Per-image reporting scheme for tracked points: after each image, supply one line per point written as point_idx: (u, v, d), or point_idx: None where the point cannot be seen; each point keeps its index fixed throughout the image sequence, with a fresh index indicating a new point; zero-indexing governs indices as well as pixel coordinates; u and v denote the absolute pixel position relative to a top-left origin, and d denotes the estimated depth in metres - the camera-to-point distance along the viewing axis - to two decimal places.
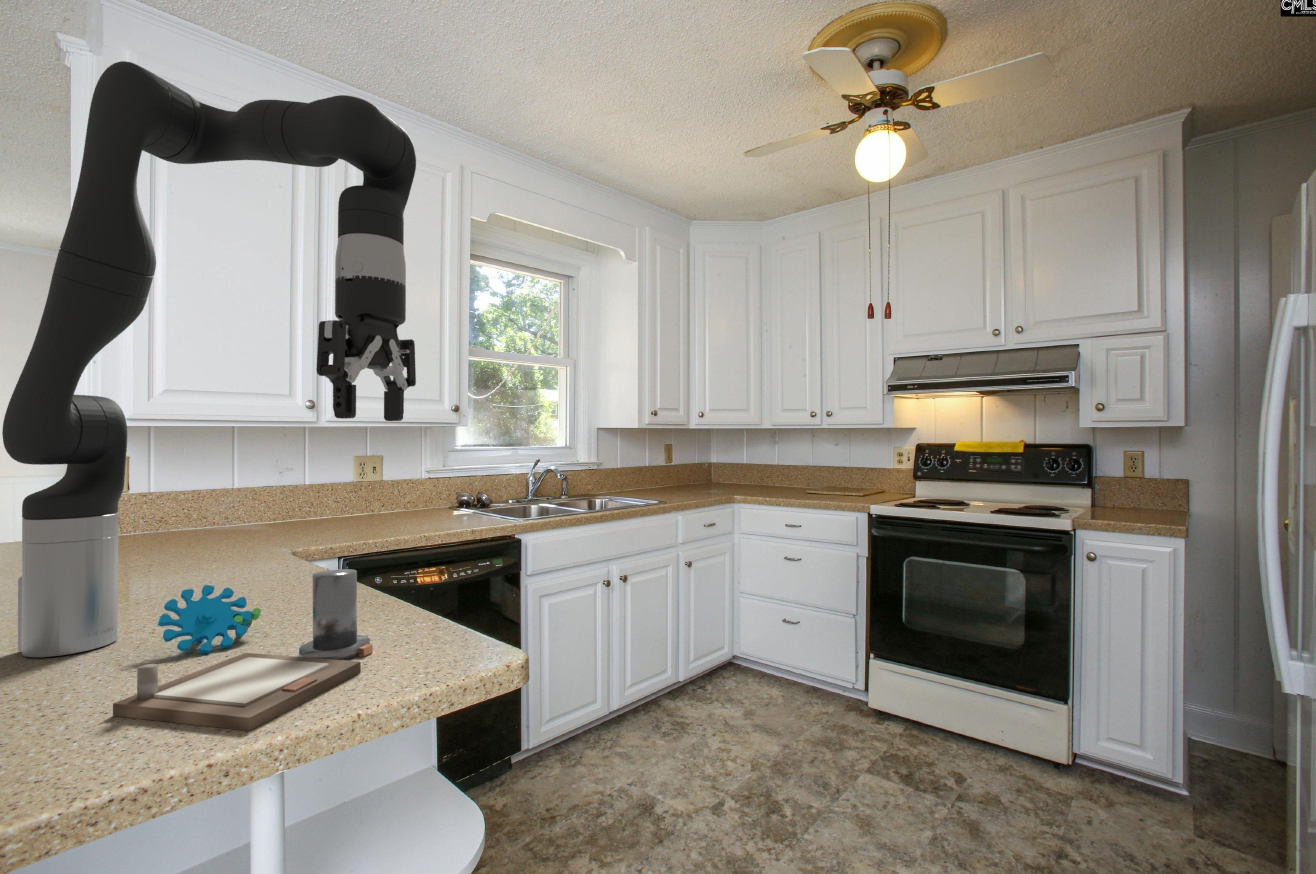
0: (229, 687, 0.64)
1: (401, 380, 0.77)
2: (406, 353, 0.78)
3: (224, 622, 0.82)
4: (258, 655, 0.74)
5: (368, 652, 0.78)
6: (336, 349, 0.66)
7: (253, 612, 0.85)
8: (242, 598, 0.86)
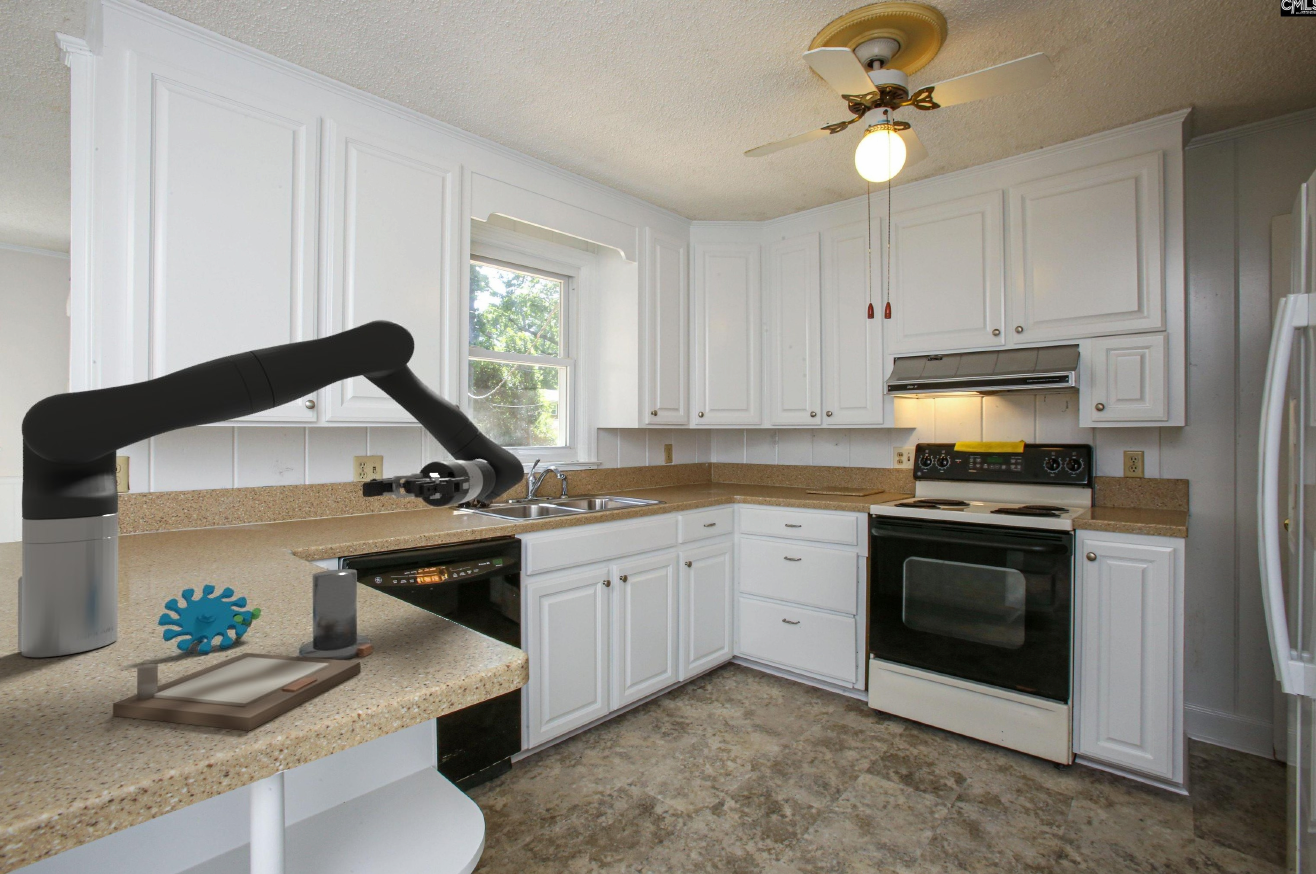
0: (229, 687, 0.64)
1: None
2: None
3: (224, 622, 0.82)
4: (258, 655, 0.74)
5: (368, 652, 0.78)
6: (460, 493, 0.95)
7: (253, 612, 0.85)
8: (242, 598, 0.86)
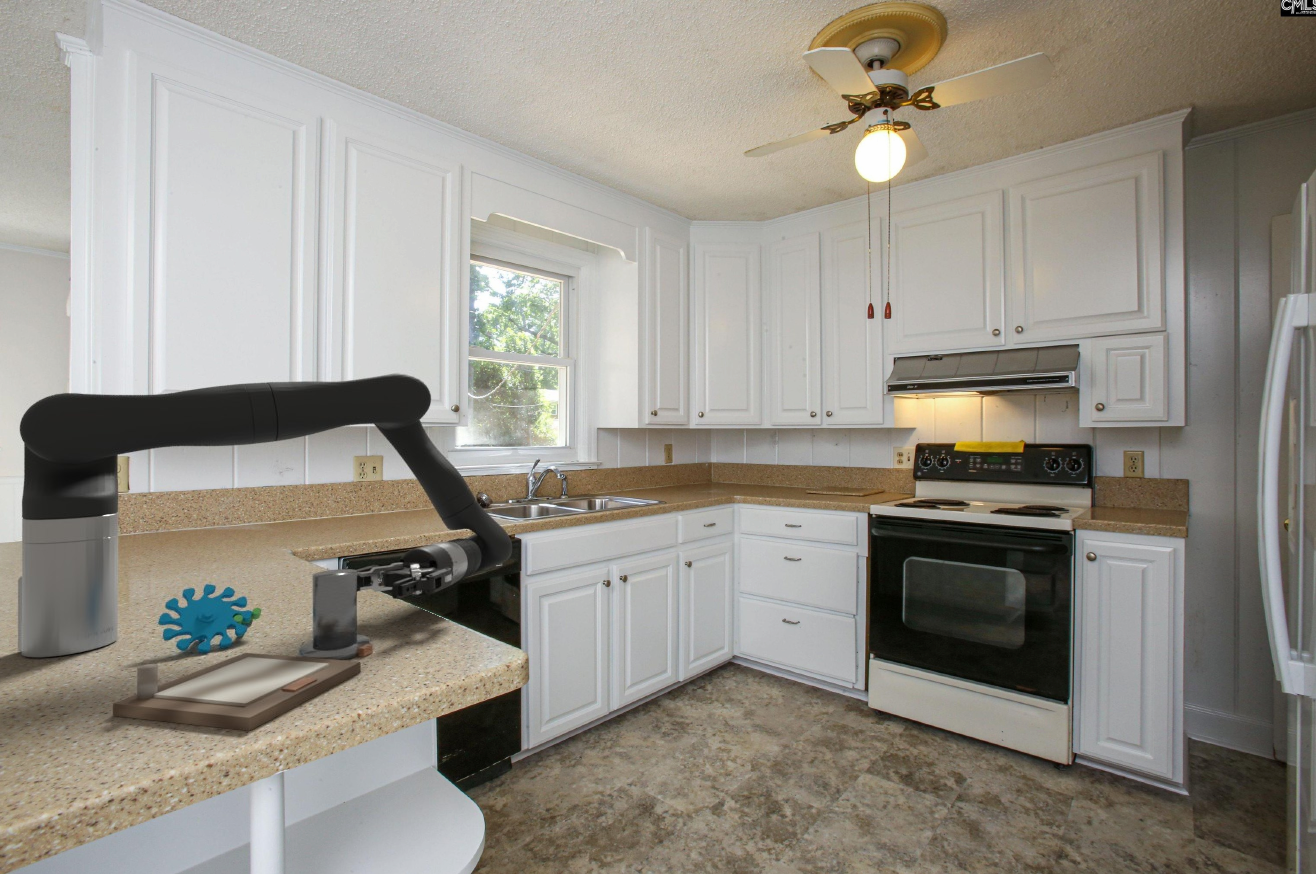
0: (229, 687, 0.64)
1: None
2: None
3: (224, 621, 0.82)
4: (258, 655, 0.74)
5: (368, 652, 0.78)
6: (441, 588, 0.91)
7: (253, 612, 0.85)
8: (243, 597, 0.86)
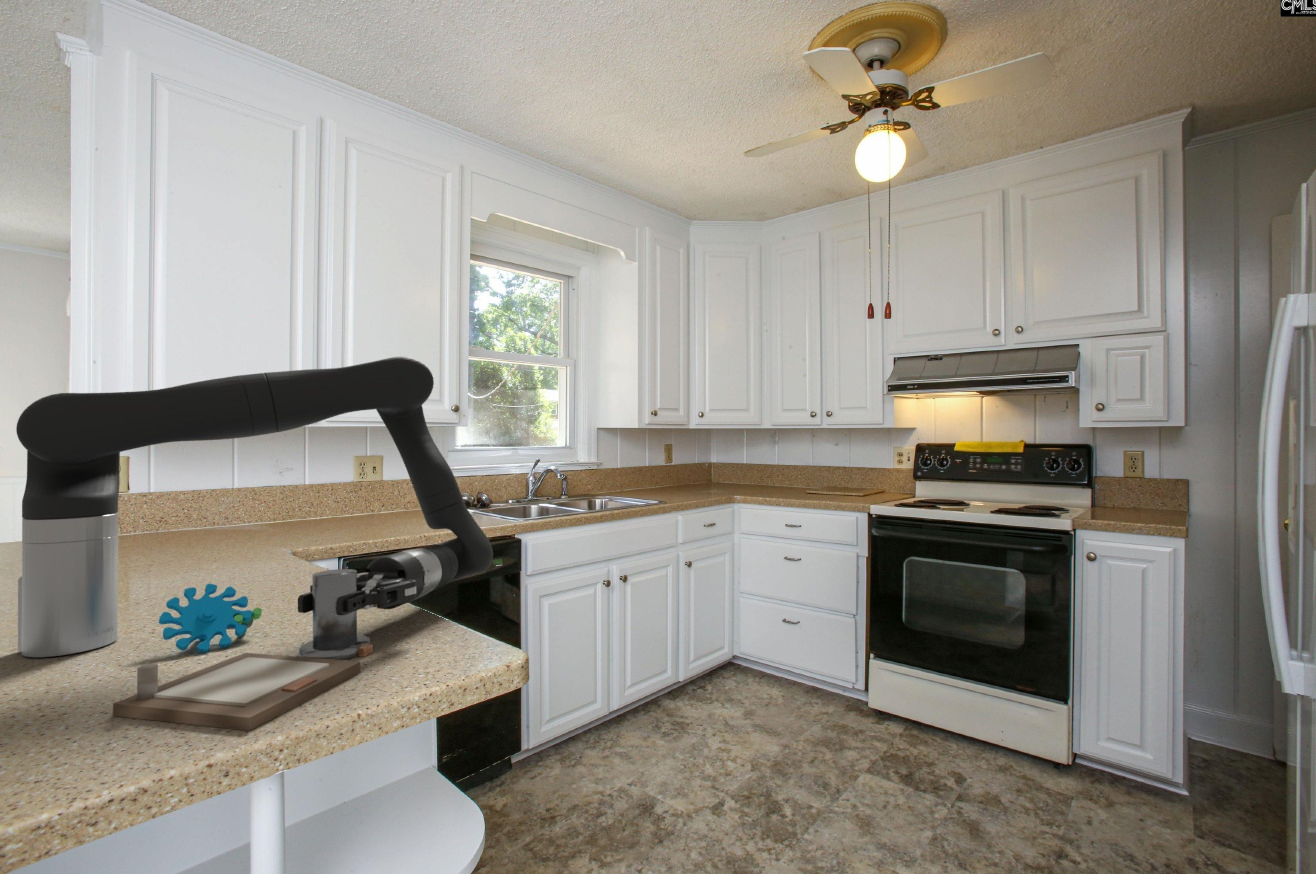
0: (229, 687, 0.64)
1: None
2: None
3: (224, 621, 0.82)
4: (258, 655, 0.74)
5: (368, 652, 0.78)
6: (398, 603, 0.82)
7: (254, 612, 0.85)
8: (244, 597, 0.86)
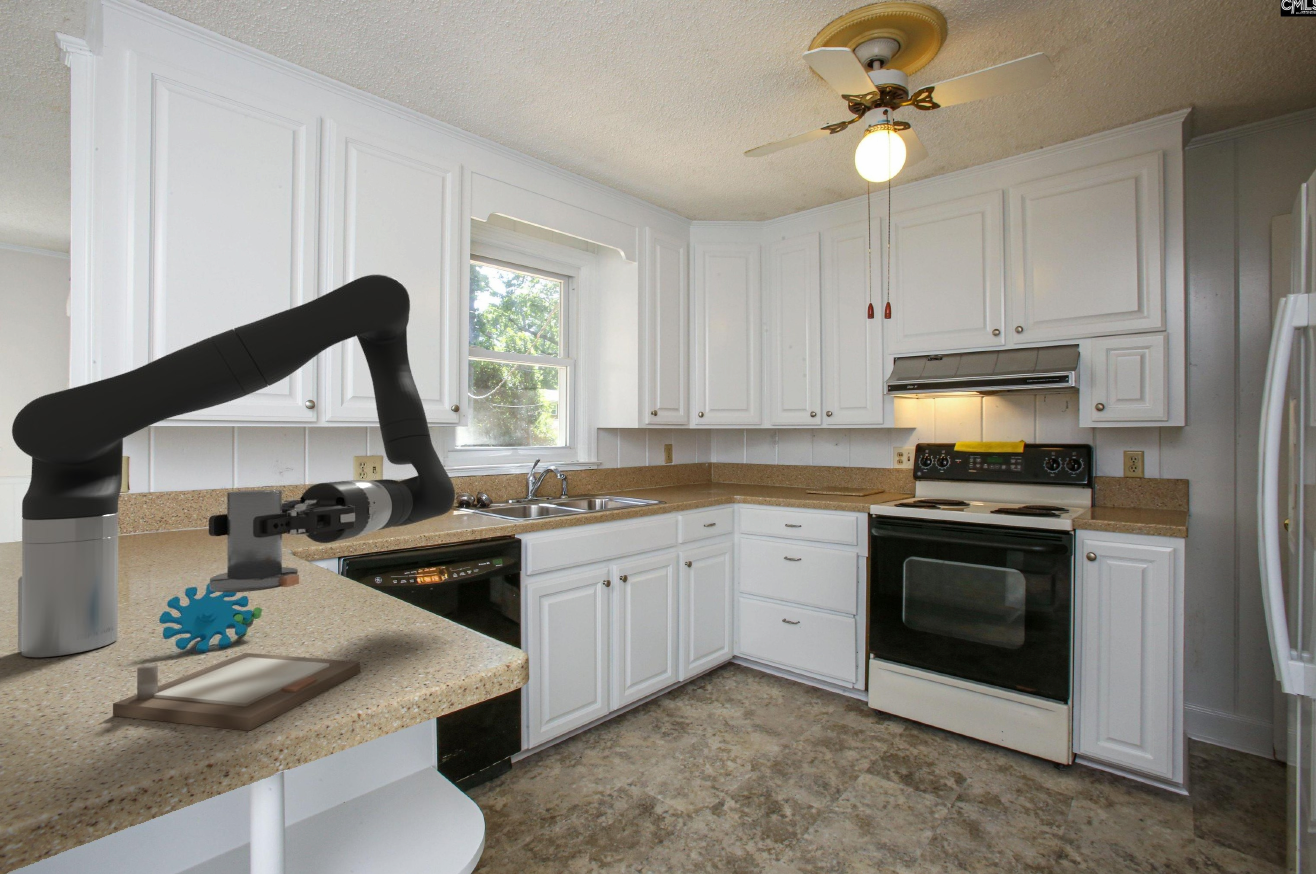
0: (229, 687, 0.64)
1: None
2: None
3: (224, 621, 0.83)
4: (258, 655, 0.74)
5: (293, 583, 0.67)
6: (331, 529, 0.70)
7: (254, 611, 0.85)
8: (244, 597, 0.86)
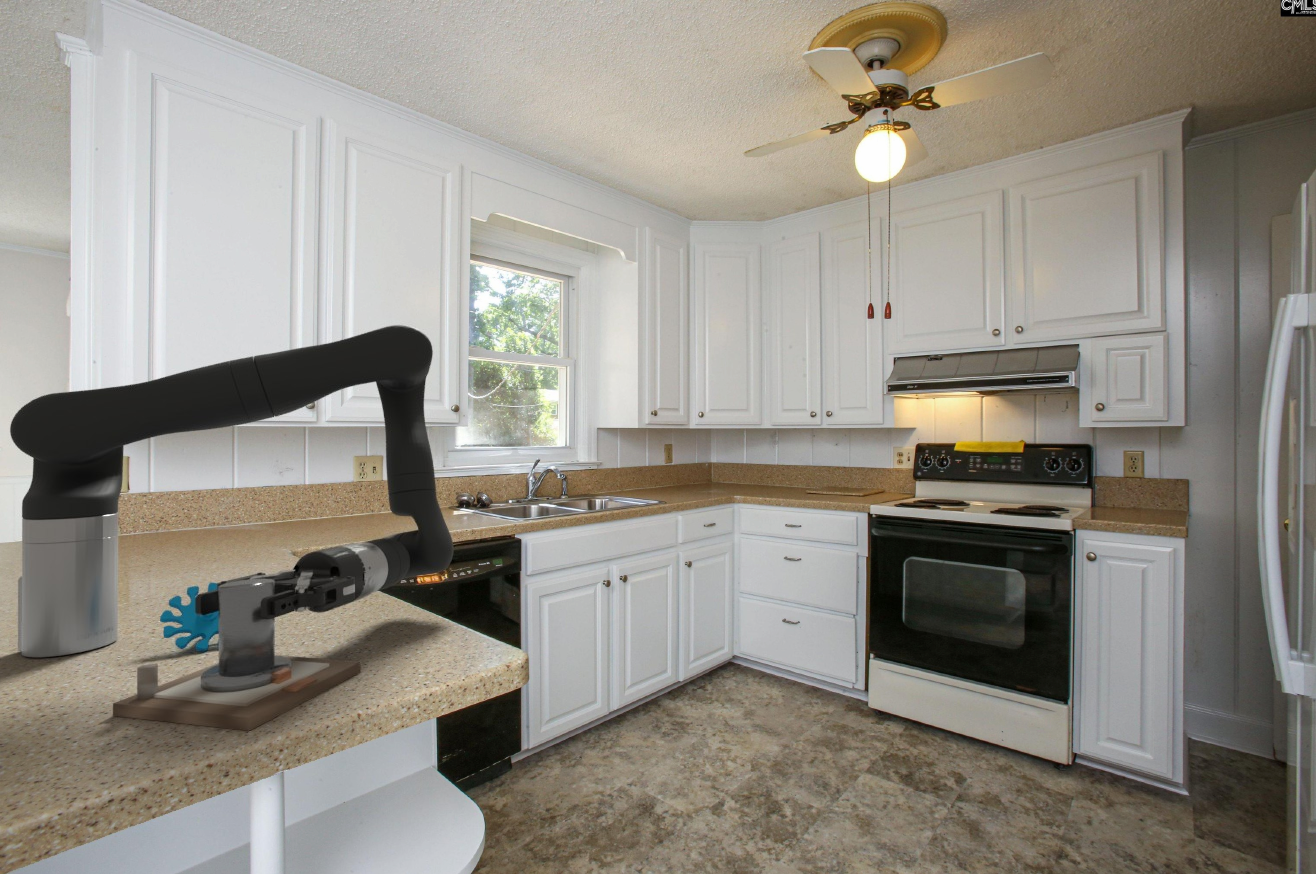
0: None
1: None
2: None
3: None
4: None
5: (285, 678, 0.66)
6: (337, 604, 0.70)
7: None
8: None
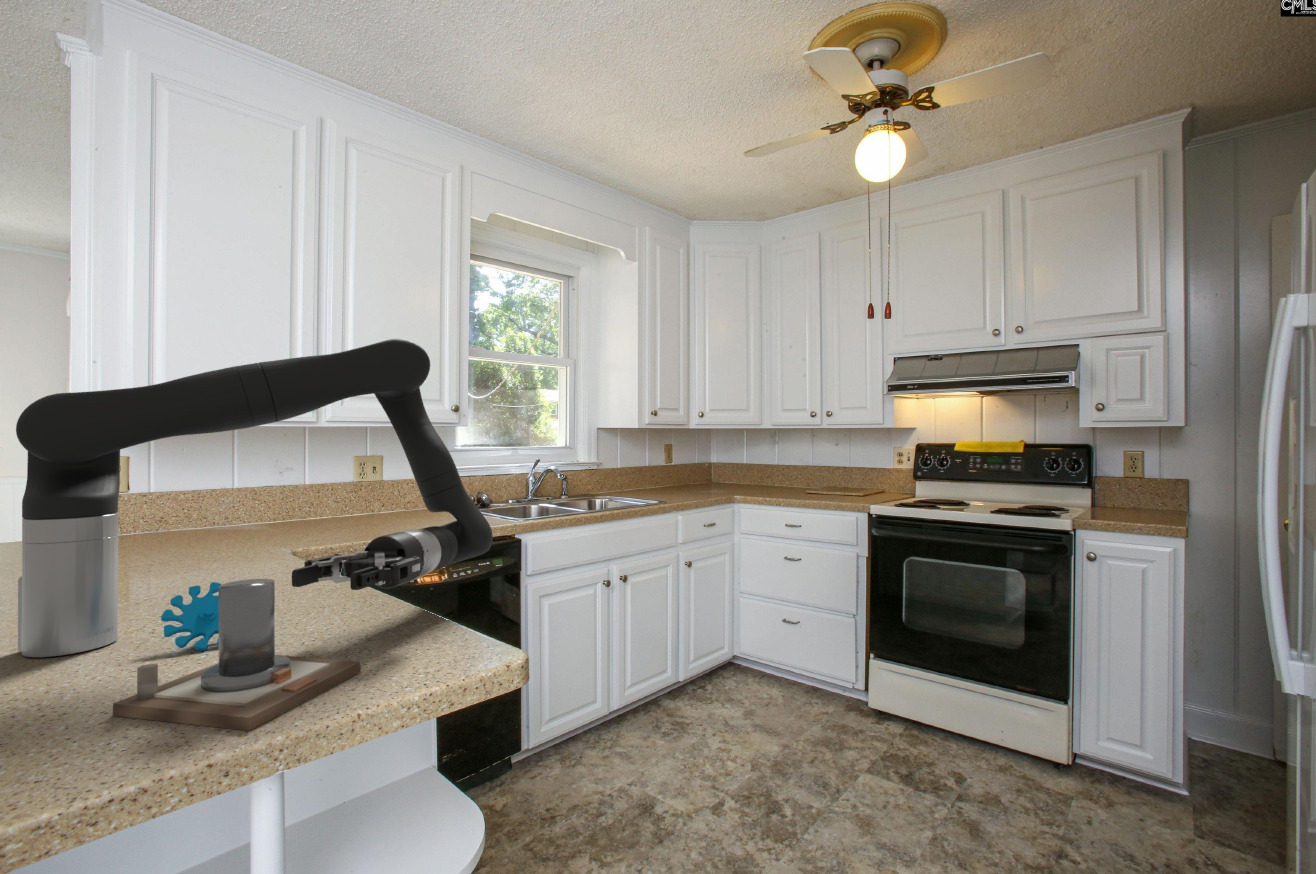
0: None
1: None
2: None
3: None
4: None
5: (285, 678, 0.66)
6: (408, 579, 0.83)
7: None
8: None
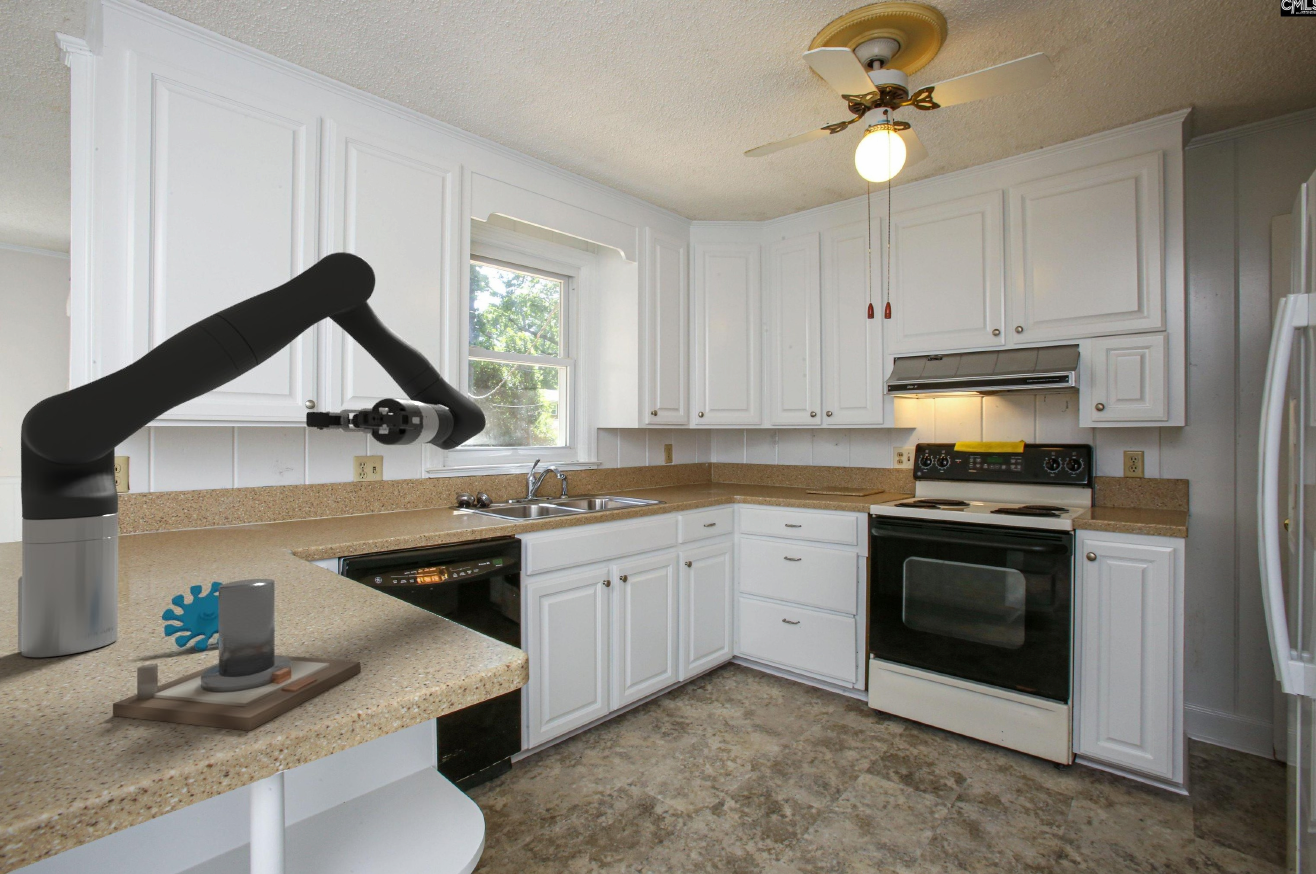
0: None
1: (334, 428, 0.93)
2: None
3: None
4: None
5: (285, 678, 0.66)
6: (409, 427, 0.93)
7: None
8: None
